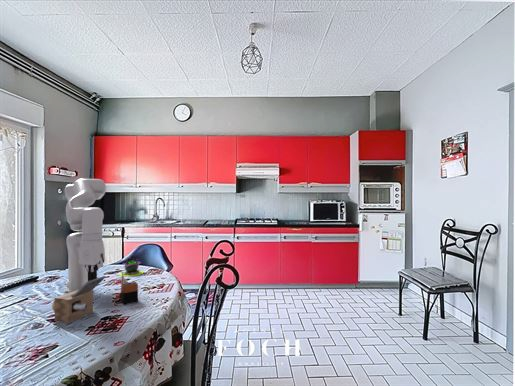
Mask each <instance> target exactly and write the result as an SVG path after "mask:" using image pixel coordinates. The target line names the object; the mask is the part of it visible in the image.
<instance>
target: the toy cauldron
mask: <svg viewBox="0 0 515 386" xmlns="http://www.w3.org/2000/svg"><path fill="white" fill-rule="evenodd" d="M129 258H130V257H128V259H129ZM141 262H142V261H141ZM141 262H140V261H138V260H129V261H126V262H124V263H122V265H123V267H124V270H125V271H124V278H125V277H128V278H129V277H137V276H140V275H143V274H144V271H142V270H139V265H140V264H141ZM119 276H120V277H122V272H120V273H119Z"/></svg>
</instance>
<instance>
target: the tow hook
mask: <svg viewBox="0 0 515 386" xmlns="http://www.w3.org/2000/svg"><path fill="white" fill-rule="evenodd" d="M124 272H125V271H124ZM124 272H121V273H122V276H120V277H121V279H120V281H121V283H120V285H121V286H120V292H119V293H118V294H115V298H119V299H122V284H124V282H125V277H124Z"/></svg>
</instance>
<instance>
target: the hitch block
mask: <svg viewBox="0 0 515 386" xmlns="http://www.w3.org/2000/svg"><path fill="white" fill-rule="evenodd" d="M77 291H78V290H76V291H73V292H70V293H67V292H66V293H65V294H62V295H58V296H56V297H54V301H55V311H54V321H55V322H62V323H68V324H70V323H72V322H74V321H76V320H78V319H80V318H83V317H85V316H87V315H91V314H92V313H94V290H92V291H91V292H88V293H85V294H83V295H80V296H77V297H74V298H72V297H71V295H73V294H75V293H76V292H77ZM73 302H76V303H83V304H87V309H86V310H85V311H77V310H72V303H73Z"/></svg>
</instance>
